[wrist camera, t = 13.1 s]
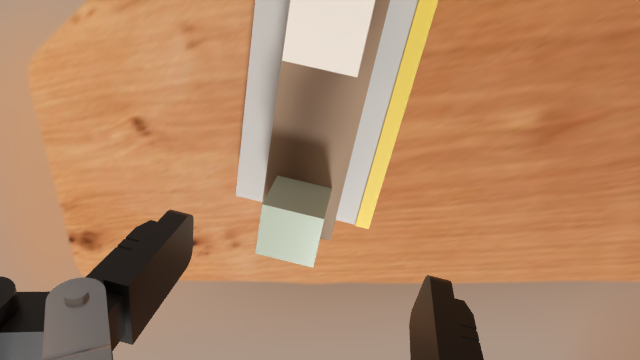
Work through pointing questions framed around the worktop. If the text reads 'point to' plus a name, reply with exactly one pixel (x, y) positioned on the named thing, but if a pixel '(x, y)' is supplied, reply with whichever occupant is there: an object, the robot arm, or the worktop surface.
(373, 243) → the worktop surface
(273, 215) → the block
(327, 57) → the white crate
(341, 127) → the pallet
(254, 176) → the block
